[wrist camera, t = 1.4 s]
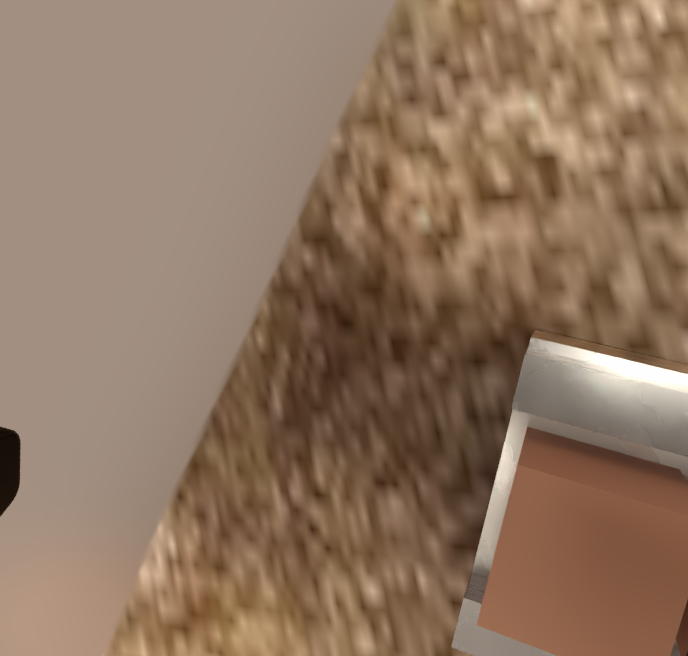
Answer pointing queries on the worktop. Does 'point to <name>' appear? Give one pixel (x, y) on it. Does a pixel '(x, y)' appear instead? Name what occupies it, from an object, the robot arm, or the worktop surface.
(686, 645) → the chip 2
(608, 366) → the channel
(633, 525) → the reddish-brown angular block
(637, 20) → the worktop surface
